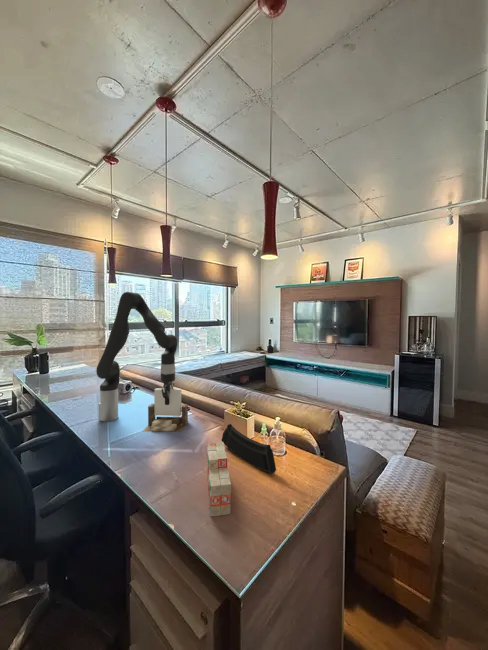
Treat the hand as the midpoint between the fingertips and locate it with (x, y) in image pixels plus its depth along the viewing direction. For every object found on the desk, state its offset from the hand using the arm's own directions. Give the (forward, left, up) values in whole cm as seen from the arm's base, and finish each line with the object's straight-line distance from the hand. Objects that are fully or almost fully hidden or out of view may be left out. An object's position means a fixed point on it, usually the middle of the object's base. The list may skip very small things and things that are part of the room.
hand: (167, 403), depth 144 cm
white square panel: (0, 0, -6) cm, 6 cm away
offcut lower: (0, -7, -11) cm, 13 cm away
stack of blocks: (+35, -54, -12) cm, 65 cm away
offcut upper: (-1, -7, -9) cm, 11 cm away
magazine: (+43, -32, -12) cm, 55 cm away
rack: (0, -3, -12) cm, 12 cm away
